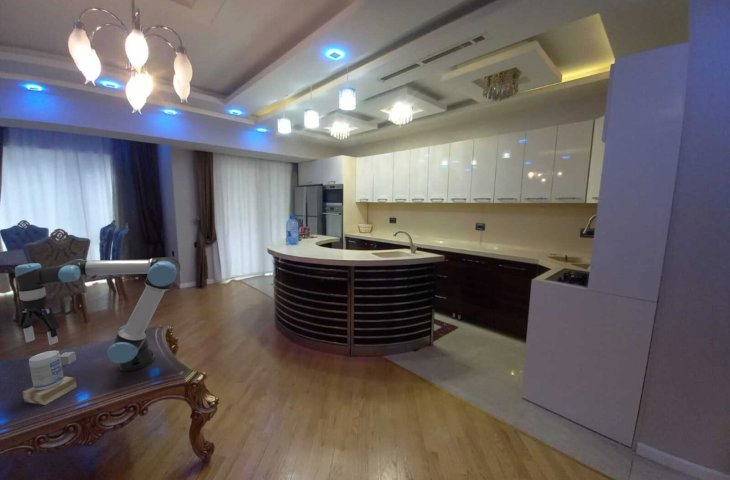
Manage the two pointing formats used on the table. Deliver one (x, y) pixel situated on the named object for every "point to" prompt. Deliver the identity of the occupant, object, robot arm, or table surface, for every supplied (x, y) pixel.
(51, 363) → the supplement tub
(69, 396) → the table surface
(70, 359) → the grey cube
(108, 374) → the table surface
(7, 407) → the table surface
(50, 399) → the oak block
